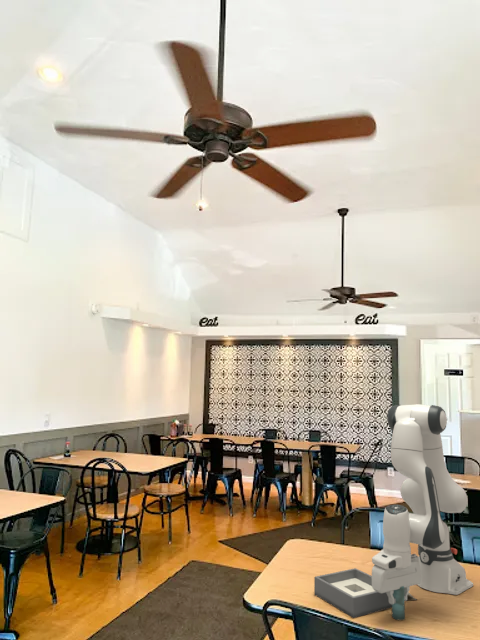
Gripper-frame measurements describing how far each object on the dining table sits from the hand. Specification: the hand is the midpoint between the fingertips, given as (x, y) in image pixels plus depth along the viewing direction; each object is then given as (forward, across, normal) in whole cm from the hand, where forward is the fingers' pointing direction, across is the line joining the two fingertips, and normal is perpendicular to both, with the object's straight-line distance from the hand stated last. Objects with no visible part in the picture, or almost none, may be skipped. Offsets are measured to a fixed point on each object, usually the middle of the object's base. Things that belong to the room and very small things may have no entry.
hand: (398, 602), depth 154 cm
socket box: (+5, +4, -16) cm, 17 cm away
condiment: (+5, -14, -11) cm, 18 cm away
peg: (+5, 0, 0) cm, 5 cm away
